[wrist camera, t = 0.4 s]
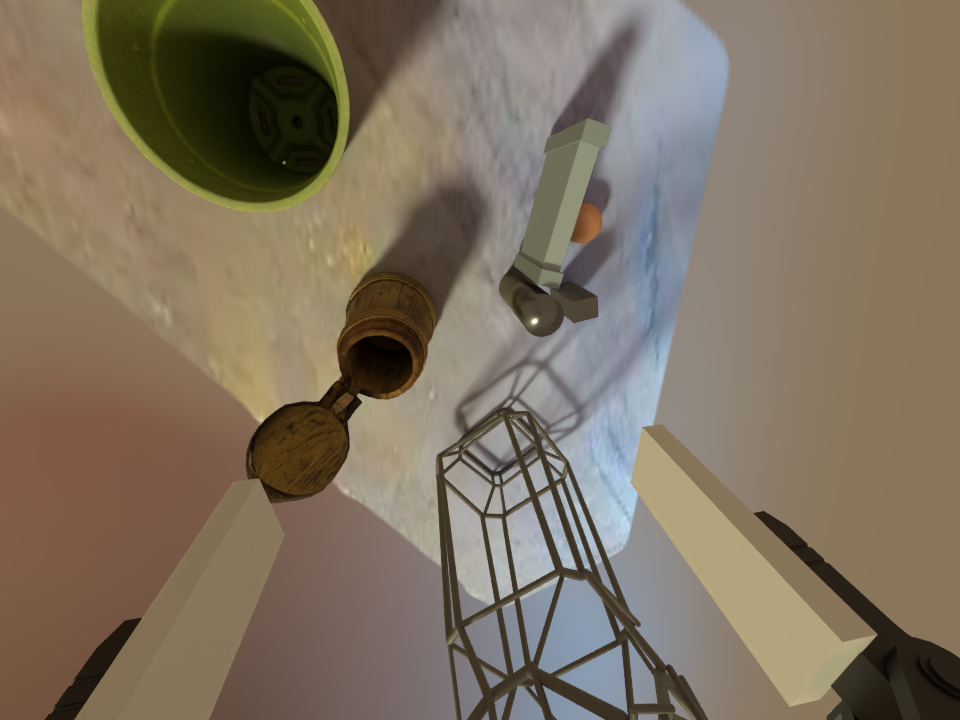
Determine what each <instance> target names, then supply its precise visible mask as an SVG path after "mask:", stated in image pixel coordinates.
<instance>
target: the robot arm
mask: <svg viewBox="0 0 960 720" xmlns="http://www.w3.org/2000/svg"><path fill="white" fill-rule="evenodd" d="M631 484H632V485H633V487H634V488H635V490H636V491H637V492H638V494H639V495H640V497H641V498H642V500H643V501H644V502H645V504H646V505H647V507H648V508H649V509H650V511H651V512H652V514H653V515H654V516H655V518H656V519H657V520H658V522H659V523H660V525H661V526H662V528H663V529H664V530H665V532H666V533H667V535H668V536H669V537H670V539H671V540H672V542H673V543H674V544H675V546H676V547H677V549H678V550H679V551H680V553H681V554H682V556H683V557H684V559H685V560H686V561H687V563H688V564H689V566H690V567H691V568H692V570H693V571H694V573H695V574H696V575H697V577H698V578H699V579H700V581H701V582H702V584H703V585H704V587H706V589H707V591H708V592H709V594H710V595H711V596H712V598H713V599H714V601H715V602H716V603H717V605H718V606H719V608H720V609H721V610H722V612H723V613H724V615H725V616H726V617H727V619H728V620H729V622H730V623H731V625H732V626H733V627H734V629H735V630H736V632H737V633H738V634H739V636H740V637H741V639H742V640H743V641H744V643H745V644H746V646H747V647H748V648H749V650H750V651H751V652H752V654H753V655H754V657H755V658H756V660H757V661H758V662H759V664H760V665H761V667H762V668H763V669H764V671H765V672H766V674H767V675H768V676H769V678H770V679H771V681H772V682H773V683H774V685H775V686H776V688H777V689H778V691H779V692H780V693H781V694H782V696H783V698H784V699H785V700H786V701H787V703H788V705H789V706H794V705H798V704H803V703H807V702H810V701H815V700H819V699H821V697H822V696H823V695H824V694H825V693H826V692H827V691H828V690H829V688H830V687H832V688H833V689H834V690H835V691H836V693H837V694H838V695H839V696H840V697H841V699H842V701H841V702H840V703H839V704H838V705H837V706H836V707H835V708H834V709H833V710H832V712H831V713H830V714H829V715H828V716H827V720H960V658H959V657H957V656H956V655H954V654H953V653H951V652H949V651H948V650H946V649H944V648H942V647H940V646H938V645H936V644H934V643H932V642H929V641H925V640H922V639H918V638H915V637H911V636H910V635H908V634H907V633H905V632H904V631H903V630H902V629H901V628H899V627H898V626H897V625H896V624H894V623H893V622H892V621H891V620H890V619H889V618H888V617H887V616H886V615H885V614H883V613H882V612H881V611H880V610H879V609H878V608H877V607H876V606H875V605H874V604H873V603H871V602H870V601H869V600H868V599H867V598H866V597H865V596H864V595H863V594H861V593H860V592H859V591H858V590H857V589H856V588H855V587H854V586H853V585H852V584H851V583H850V582H849V581H847V580H846V579H845V578H844V577H843V576H842V575H841V574H840V573H838V572H837V571H836V570H835V569H834V568H833V567H832V566H831V565H830V564H829V563H825V561H824V559H823V558H822V557H821V556H820V555H819V554H818V553H817V552H816V551H815V550H813V549H812V548H809V547H808V546H807V543H806V542H805V541H804V540H803V539H801V538H800V537H799V536H798V535H797V534H796V533H795V532H794V531H793V530H792V529H791V528H789V527H788V526H787V525H786V524H784V523H782V522H781V521H779V520H777V519H776V518H774V517H772V516H771V515H769V514H768V513H766V512H765V511H762V512H757V513H752V512H751V511H750V510H749V509H748V508H747V507H746V506H745V505H744V504H743V503H742V502H741V501H740V500H739V499H738V498H737V497H736V496H735V495H734V494H733V493H732V492H731V491H730V490H729V489H728V488H727V487H726V486H725V485H723V484H722V483H721V482H720V481H719V480H718V479H717V478H716V477H715V476H714V475H713V474H712V473H711V472H710V471H709V470H708V469H707V468H706V467H705V466H704V465H703V464H702V463H701V462H700V461H699V460H698V459H697V458H696V457H695V456H694V455H693V454H692V453H691V452H690V451H689V450H688V449H687V448H685V446H683V445H682V444H681V443H680V442H679V441H678V440H677V439H676V438H675V437H674V436H673V435H672V434H671V433H670V432H669V431H668V430H667V429H666V428H665V427H664V426H663V425H655V426H647V427H642V431H641V436H640V441H639V446H638V450H637V455H636V460H635V465H634V469H633V474H632V479H631ZM284 536H285V535H284V533H283V531H282V528H281V526H280V524H279V522H278V519H277V517H276V515H275V513H274V511H273V508H272V506H271V504H270V502H269V500H268V497H267V495H266V493H265V491H264V489H263V486H262V484H261V482H260V480H259V478H258V479H250V480H243V481H236V482H233V483H232V485H231V486H230V488H229V489H228V491H227V492H226V494H225V495H224V497H223V498H222V500H221V501H220V503H219V504H218V506H217V507H216V509H215V510H214V512H213V513H212V515H211V516H210V518H209V519H208V520H207V522H206V523H205V525H204V527H203V528H202V530H201V531H200V532H199V534H198V535H197V537H196V538H195V540H194V541H193V543H192V545H191V546H190V547H189V549H188V550H187V552H186V554H185V555H184V556H183V558H182V560H181V561H180V563H179V564H178V566H177V567H176V568H175V570H174V572H173V573H172V574H171V576H170V578H169V579H168V580H167V582H166V583H165V585H164V586H163V588H162V589H161V591H160V592H159V594H158V595H157V597H156V598H155V600H154V601H153V603H152V604H151V606H150V607H149V609H148V610H147V612H146V613H145V615H144V616H143V618H137V619H132V620H126V621H124V622H123V623H122V624H121V625H120V626H119V627H118V628H117V629H116V630H115V631H114V632H113V633H112V634H111V635H110V636H109V637H108V638H107V639H106V640H105V641H104V642H102V643H101V644H100V645H99V646H98V647H97V648H96V650H95V651H94V653H93V654H92V655H91V657H90V658H89V659H88V661H87V662H86V663H85V665H84V666H83V668H82V669H81V671H80V672H79V673H78V675H77V676H76V677H75V679H74V683H73V685H72V686H69V687H68V688H67V690H66V691H65V692H64V694H63V695H62V697H61V698H60V699H59V701H58V702H57V704H56V705H55V706H54V711H53V712H52V713H51V714H49V715H48V716H47V717H46V719H45V720H209V718H210V716H211V713H212V711H213V708H214V706H215V704H216V701H217V698H218V696H219V694H220V691H221V689H222V686H223V684H224V682H225V679H226V677H227V674H228V672H229V670H230V667H231V665H232V662H233V660H234V657H235V655H236V653H237V650H238V648H239V645H240V643H241V640H242V638H243V635H244V633H245V631H246V628H247V626H248V623H249V621H250V619H251V616H252V613H253V611H254V609H255V606H256V604H257V602H258V599H259V597H260V594H261V592H262V589H263V587H264V585H265V582H266V580H267V577H268V575H269V572H270V570H271V568H272V565H273V563H274V560H275V558H276V556H277V553H278V551H279V548H280V546H281V543H282V541H283V538H284Z"/></svg>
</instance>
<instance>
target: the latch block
mask: <svg viewBox="0 0 960 720" xmlns="http://www.w3.org/2000/svg"><path fill="white" fill-rule="evenodd" d="M550 290H551V296H552V297H553V298H554V299H555V300H557V301H558V302H559V303H560V304H561V306H562V308H563V312H564V315H565V316H566V317H567V318H568V319H570V320H571V321H572V322H573V323H576V322H580V321H584V320H588V319H592V318H596V317H598V297H597V296H596V295H594V294H593V293H591V292H589V291H587V290H586V289H584V288H582V287H580V286H579V285H577V284H575V283H574V282H568V283H564V284H560V287H559V289H556V288H551V287H550Z"/></svg>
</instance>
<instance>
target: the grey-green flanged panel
mask: <svg viewBox="0 0 960 720" xmlns="http://www.w3.org/2000/svg"><path fill="white" fill-rule="evenodd" d="M611 128H612V126H609V125H606V124H603V123H600V122H598V121H595V120H592V119H589V118H587V119H585V120H583V121H581V122H579V123H576V124H574V125H572V126H570V127H568V128H566V129H564V130H562V131H560V132H558V133H556V134H554V135H552V136H550V137H548V139H547V143H546V147H545V150H544V154H547V155H546V159H545V163H544V167H543V170H542V174H541V178H540V182H539V185H538V189H537V193H536V196H535V200H534V204H533V208H532V211H531V215H530V219H529V223H528V226H527V230H526V234H525V237H524V241H523V245H522V249H521V252H520V254H517V256H516V260H515V264H514V267H516V268H517V269H518V270H520V271H521V272H522V273H523V274H525V275H526V276H527V277H529V278H530V279H531V280H532V281H534V282H535V283H536V284H538V285H542V286H546V287H551V288H556V289H559V287H560V284H561V281H562V278H563V275H564V274H563V273H561V272H560V270H561V267H562V264H563V261H564V258H565V255H566V251H567V248H568V245H569V242H570V239H571V236H572V233H573V230H574V226H575V223H576V220H577V217H578V214H579V211H580V208H581V205H582V201H583V198H584V195H585V192H586V189H587V186H588V183H589V180H590V176H591V173H592V170H593V167H594V164H595V161H596V158H597V155H598V151H599V149H600V148H604V147H605V146H606V143H607V140H608V137H609V134H610V131H611Z"/></svg>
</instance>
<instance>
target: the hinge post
mask: <svg viewBox="0 0 960 720" xmlns="http://www.w3.org/2000/svg"><path fill="white" fill-rule="evenodd" d="M499 291H500V294H501V296H502V297H503V299H504V300H505V301H506V303H507V304H508V305H509V307H510V308H511V309H512V311H513V312H514V313H515V315H516V316H517V317H518V318H519V320H520V321H521V322H522V324H523V325H524V326H525V328H526V329H527V330H528V331H529V332H530V333H531V334H533V335H535V336H539V337H544V336H548V335H550V334H552V333H554V332H555V331H556V330H557V329H558V328H559V327H560V325H561V324H562V321H563V317H564V312H563V308H562V306H561V304H560V303H559V302H558V301H557V300H555V299H554V298H553V297H552V296H550V295H549V294H548V293H547V292H545V291H544V290H543V289H542V288H540V287H539V286H538V285H536V284H535V283H534V282H533V281H531V280H530V279H529V278H528V277H526V276H525V275H524V274H522V273H520V272H510V273H508V274H506V275H505V276H504V277H503V278H502V280H501V282H500V285H499Z"/></svg>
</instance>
